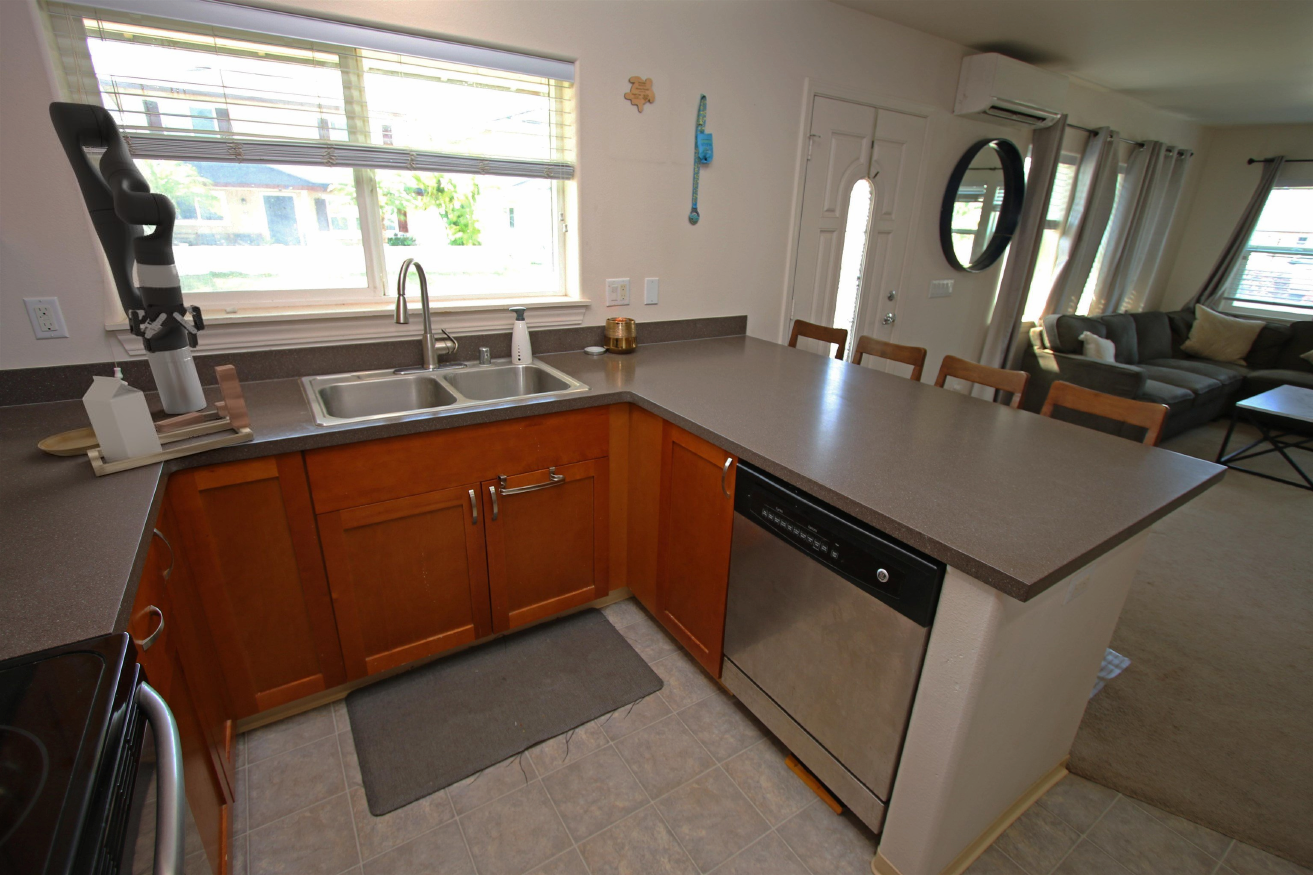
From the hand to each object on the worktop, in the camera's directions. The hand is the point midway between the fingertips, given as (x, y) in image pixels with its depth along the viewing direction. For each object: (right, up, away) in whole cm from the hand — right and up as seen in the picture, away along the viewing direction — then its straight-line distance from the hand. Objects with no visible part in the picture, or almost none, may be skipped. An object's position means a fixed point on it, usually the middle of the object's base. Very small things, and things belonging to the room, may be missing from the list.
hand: (172, 350), depth 144 cm
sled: (+7, -24, -7) cm, 26 cm away
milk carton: (+2, -26, -12) cm, 29 cm away
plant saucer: (-15, -24, -6) cm, 29 cm away
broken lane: (+1, -19, +4) cm, 20 cm away
